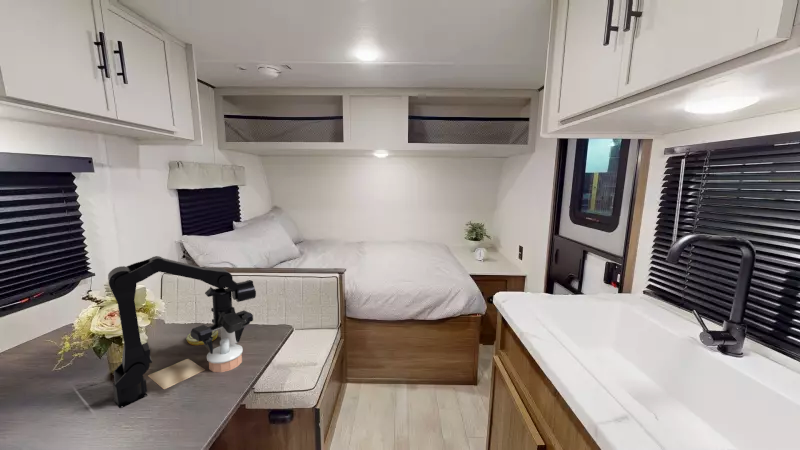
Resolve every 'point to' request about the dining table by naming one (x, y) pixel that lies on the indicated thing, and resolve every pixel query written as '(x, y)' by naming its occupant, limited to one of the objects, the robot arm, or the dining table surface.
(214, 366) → the bowl
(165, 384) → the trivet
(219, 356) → the lid
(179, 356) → the dining table surface
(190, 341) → the decorated donut
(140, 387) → the robot arm
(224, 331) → the beverage can
